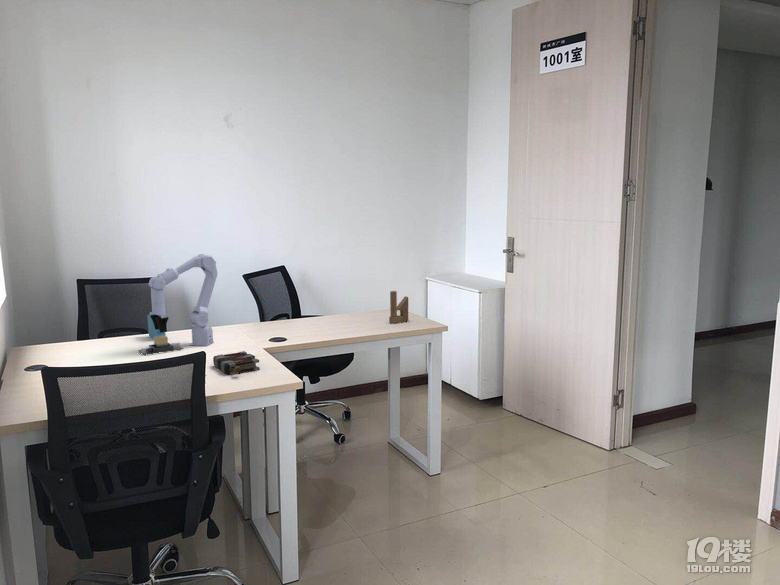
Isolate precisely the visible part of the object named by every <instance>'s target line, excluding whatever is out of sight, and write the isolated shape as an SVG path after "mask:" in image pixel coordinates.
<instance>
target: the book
mask: <svg viewBox="0 0 780 585" xmlns="http://www.w3.org/2000/svg"><path fill="white" fill-rule="evenodd" d="M212 361H213V365H214V367H215V368H216V369H219V371H221V373H222V374H225V375H228V376H229V375H230V376H231V375H236V374H237V375H240V374H242V373H245V372H246V373H247V372H252V371H253V372H255V371H260V367H259V366H258V365H257V363H260V359H258V358H255V357H254V355H253V354H250V353H247V351H245V350H244V351H243V350H242V351H238V352H233V353H232V352H231V353H226V354H217V355H214V356H213V360H212Z"/></svg>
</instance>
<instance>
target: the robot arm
mask: <svg viewBox="0 0 780 585" xmlns="http://www.w3.org/2000/svg"><path fill="white" fill-rule="evenodd" d="M193 268H200V269H201V270H202V271H203V273H204V274H205V276H204V280H203V283H202V286H201V290H200V293H199V296H198V300H197V303H196V306H195V307H193V310H192V312H191V313H190V314H189V317H188V318H189V319H188V320H189V322H190V323H191V326H190V327H191V339H192V340H191V343H189V344H188V346H197V347H201V346H203V347H207V346H209V345H212V344H213V343H215V342H214V334H213V328H212V326H208V323H209V309H208V308H209V304H210V302H211V298H212V294H213V291H214V288H215V283H216V282H217V281H216V280H217V276H218V269H217V261H216V260H215V258H214V257H213V256H212V255H208V254H204V253H199V254H198V255H196V256H193V257H192V258H191V259H189V260H187V261H185V262H183V264H180V265H179V266H178V267H176V268H173V267H172V268H171V267H170V268H166V269H165V270H164V271H163V272H161V273H158V274H157V276H153V277H151V278H150V279H149V282H148V286H149V288H150V298H151V299H150V300H151V311H150V312H149V314H153V315H150V317H151V319H152V321H153V323H154V327H155V330H157V329H159V331H160V332H165V333H166V328H167V323H168V321H169V317H168V316H167V315H166V314H167V313H166V305H165V302H166V301H165V292H164V288H165V287H166V286H167V285H169V284H171V283H173V282H174V281H176V280H178V279H179V275H181V274H184V273H185V272H187V271H190V270H192V269H193Z"/></svg>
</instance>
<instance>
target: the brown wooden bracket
mask: <svg viewBox="0 0 780 585" xmlns="http://www.w3.org/2000/svg"><path fill="white" fill-rule="evenodd" d="M389 292H390V294H389V298H390V300H389V301H390V304H389V306H390V309H389V310H390V316H389V318H388V320H389V322H390V324H392V323H394V324H399V322H401V323H407V322H406V321H408V322H409V296H404V297H403V298H402V299H401V301H400V302H399V303H398V301H397V299H398V297H397V296H398V295H397V293H398V291H396V290H391V291H389ZM398 311H399V315H398Z"/></svg>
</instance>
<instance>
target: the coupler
mask: <svg viewBox="0 0 780 585" xmlns="http://www.w3.org/2000/svg"><path fill="white" fill-rule="evenodd" d="M168 341H169V339H168V336H167V335H166V336H165V335H162V336H155V337H154V339H153V344H154V347H155V348H160V347H166V346H168V343H169V342H168Z"/></svg>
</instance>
